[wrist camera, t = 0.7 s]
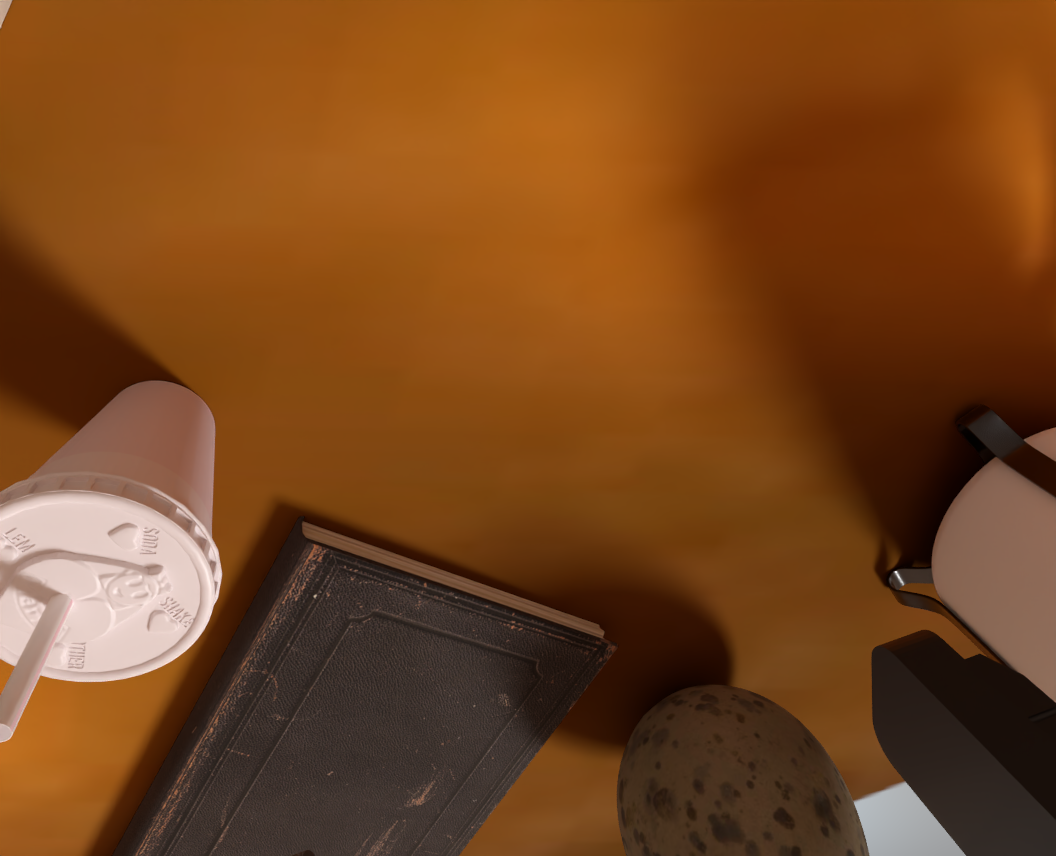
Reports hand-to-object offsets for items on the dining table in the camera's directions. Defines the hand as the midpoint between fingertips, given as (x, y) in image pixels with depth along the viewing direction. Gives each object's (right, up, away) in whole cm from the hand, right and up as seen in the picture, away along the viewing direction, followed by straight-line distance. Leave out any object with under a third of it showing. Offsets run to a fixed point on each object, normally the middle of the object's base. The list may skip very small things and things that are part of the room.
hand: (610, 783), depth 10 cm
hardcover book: (-10, -11, +28) cm, 32 cm away
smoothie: (-15, +5, +18) cm, 24 cm away
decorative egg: (+7, -11, +32) cm, 34 cm away
